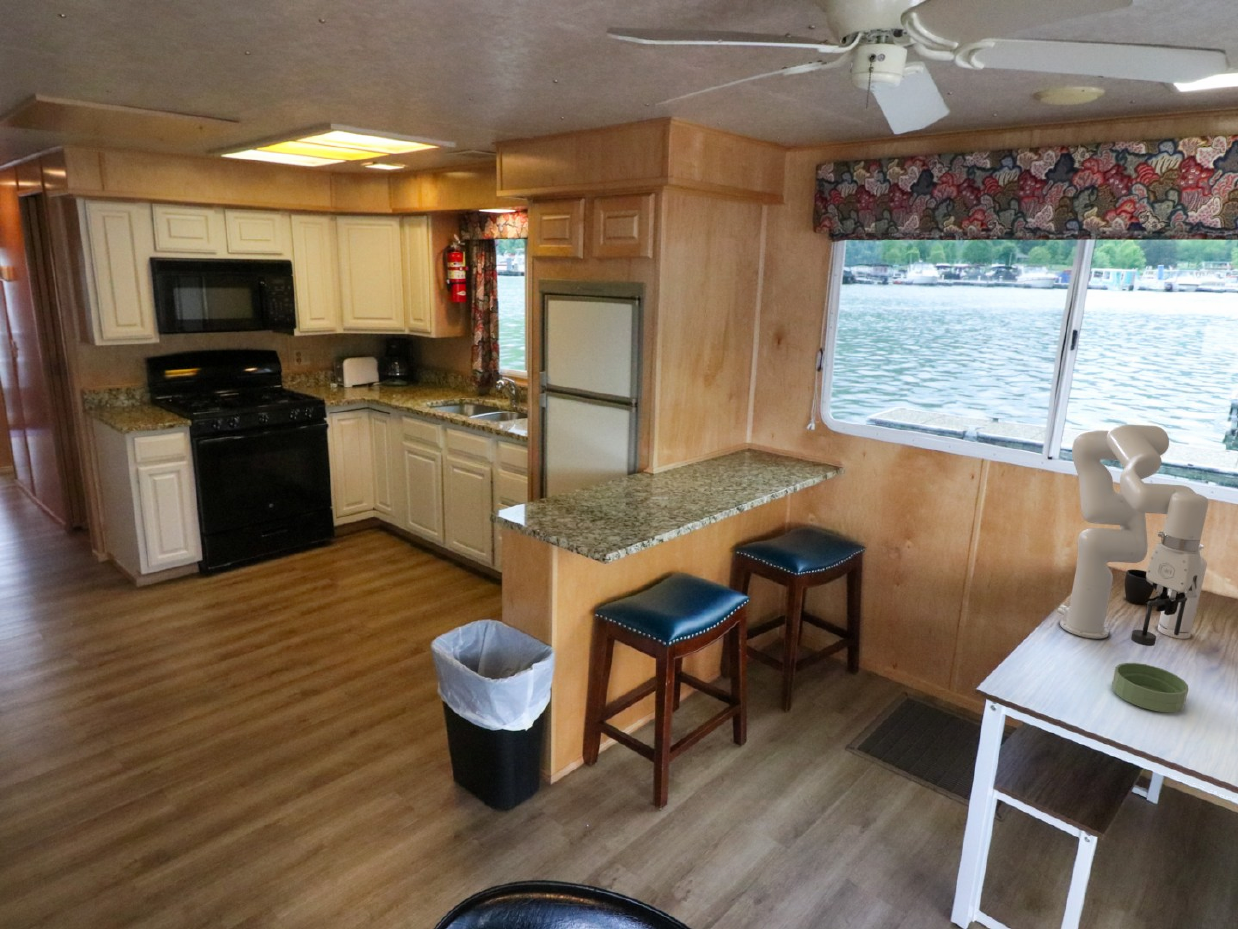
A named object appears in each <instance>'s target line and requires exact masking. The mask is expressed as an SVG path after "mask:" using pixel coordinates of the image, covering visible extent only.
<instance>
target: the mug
mask: <svg viewBox="0 0 1238 929" xmlns="http://www.w3.org/2000/svg"><path fill="white" fill-rule="evenodd" d="M1146 573H1147V570H1142V569H1136V568H1135V569H1134V568H1133V569H1127V571H1126V573H1125V578H1124V593H1125V594H1124V595H1125V600H1126V601H1127V602H1129V603H1130V604H1133V605H1139V606H1144V605H1147V603H1148V602H1149V601H1155V600H1157V598H1158V595H1156V596H1154V597H1151V596H1152V595H1153V592H1154V590H1155V588H1154V587H1153V585H1151V584H1150V583H1149V582H1148V581H1147V580H1146V578H1147V577H1146Z"/></svg>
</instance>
